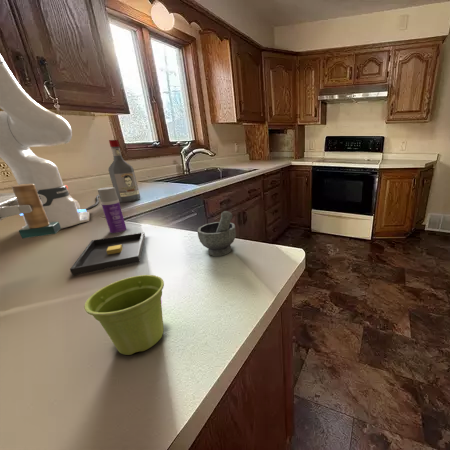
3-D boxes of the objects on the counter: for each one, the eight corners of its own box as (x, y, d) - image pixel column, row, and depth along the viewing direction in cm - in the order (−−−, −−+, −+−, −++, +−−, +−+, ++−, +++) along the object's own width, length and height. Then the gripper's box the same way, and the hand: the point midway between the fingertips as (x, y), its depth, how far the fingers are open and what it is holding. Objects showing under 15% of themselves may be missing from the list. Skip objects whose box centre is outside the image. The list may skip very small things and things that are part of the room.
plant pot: (88, 354, 35) (67, 304, 32) (147, 313, 44) (135, 270, 41) (133, 374, 32) (115, 321, 29) (187, 325, 40) (177, 280, 37)
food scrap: (109, 250, 68) (108, 246, 68) (122, 248, 69) (121, 244, 69) (107, 254, 65) (106, 250, 65) (120, 252, 67) (119, 248, 66)
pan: (93, 246, 72) (91, 240, 71) (145, 238, 78) (144, 231, 77) (72, 277, 56) (69, 269, 55) (140, 263, 61) (138, 255, 61)
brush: (29, 233, 61) (9, 185, 57) (61, 228, 63) (43, 182, 59) (21, 238, 57) (-1, 188, 53) (55, 233, 60) (36, 185, 56)
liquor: (115, 200, 128) (98, 140, 118) (134, 197, 135) (119, 140, 125) (123, 202, 123) (106, 140, 113) (142, 199, 130) (128, 139, 120)
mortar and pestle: (194, 253, 66) (186, 210, 62) (222, 241, 74) (217, 202, 70) (220, 263, 60) (213, 217, 56) (248, 250, 67) (244, 208, 63)
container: (118, 234, 81) (105, 190, 76) (106, 234, 82) (93, 189, 77) (130, 229, 85) (118, 187, 80) (119, 229, 86) (106, 186, 81)
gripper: (-104, 212, 43) (7, 202, 49) (-27, 191, 60) (48, 185, 66) (-84, 245, 45) (20, 231, 51) (-15, 215, 62) (57, 208, 68)
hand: (36, 205), depth 58 cm, fingers closed on brush, 3 cm apart
